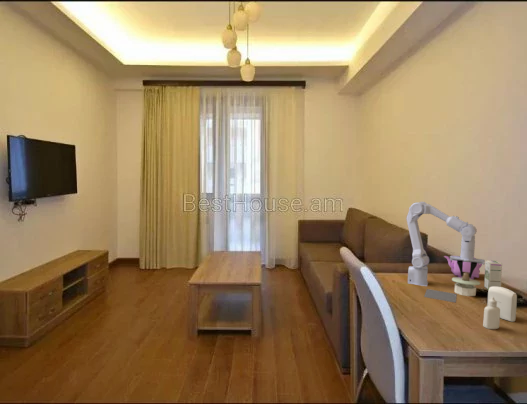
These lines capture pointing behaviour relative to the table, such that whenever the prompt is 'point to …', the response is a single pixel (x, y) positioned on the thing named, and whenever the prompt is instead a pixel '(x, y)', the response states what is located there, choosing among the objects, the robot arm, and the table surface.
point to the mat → (440, 295)
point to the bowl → (465, 289)
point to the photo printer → (504, 302)
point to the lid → (465, 279)
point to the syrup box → (492, 274)
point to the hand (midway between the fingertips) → (465, 276)
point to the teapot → (466, 268)
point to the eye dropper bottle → (491, 315)
